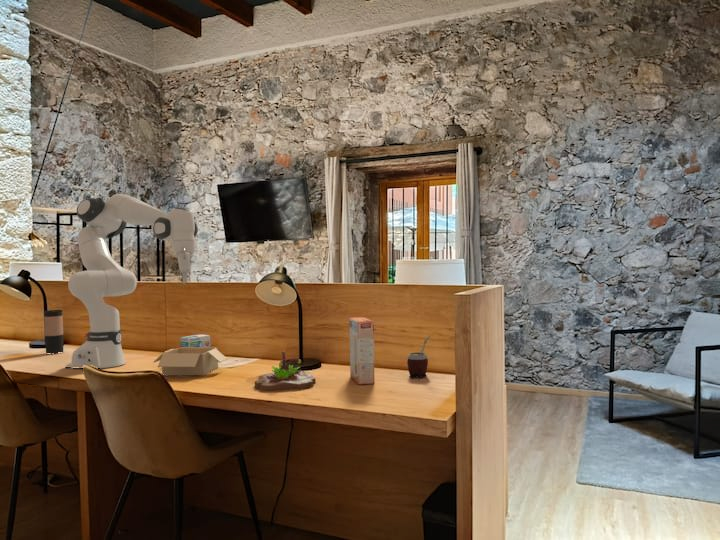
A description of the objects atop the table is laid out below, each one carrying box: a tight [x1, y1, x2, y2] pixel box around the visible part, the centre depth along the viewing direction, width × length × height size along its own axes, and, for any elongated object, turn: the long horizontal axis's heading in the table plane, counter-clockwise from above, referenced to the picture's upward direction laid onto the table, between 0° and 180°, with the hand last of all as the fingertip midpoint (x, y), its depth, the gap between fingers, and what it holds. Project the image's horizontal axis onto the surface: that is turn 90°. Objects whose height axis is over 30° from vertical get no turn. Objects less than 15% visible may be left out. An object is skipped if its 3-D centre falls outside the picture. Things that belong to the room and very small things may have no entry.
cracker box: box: [349, 316, 376, 385], centre depth 190 cm, size 14×6×21 cm, turn 12°
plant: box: [254, 350, 317, 393], centre depth 188 cm, size 20×20×11 cm
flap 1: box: [157, 352, 200, 368], centre depth 202 cm, size 14×1×6 cm
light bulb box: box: [179, 333, 212, 348], centre depth 232 cm, size 11×7×11 cm, turn 143°
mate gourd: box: [407, 334, 434, 379], centre depth 193 cm, size 8×8×15 cm
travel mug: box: [43, 309, 64, 353], centre depth 263 cm, size 8×8×20 cm
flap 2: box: [208, 347, 228, 364], centre depth 210 cm, size 1×7×6 cm
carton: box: [153, 346, 219, 377], centre depth 214 cm, size 21×19×8 cm
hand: (184, 283), depth 221 cm, fingers closed
